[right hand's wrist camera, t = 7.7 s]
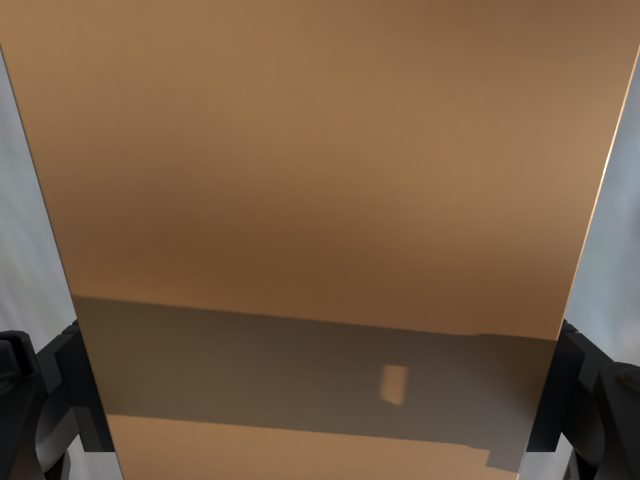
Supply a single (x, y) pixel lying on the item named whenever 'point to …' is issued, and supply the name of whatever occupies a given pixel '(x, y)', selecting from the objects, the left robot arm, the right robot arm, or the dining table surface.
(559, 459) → the dining table surface
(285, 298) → the wide beam
